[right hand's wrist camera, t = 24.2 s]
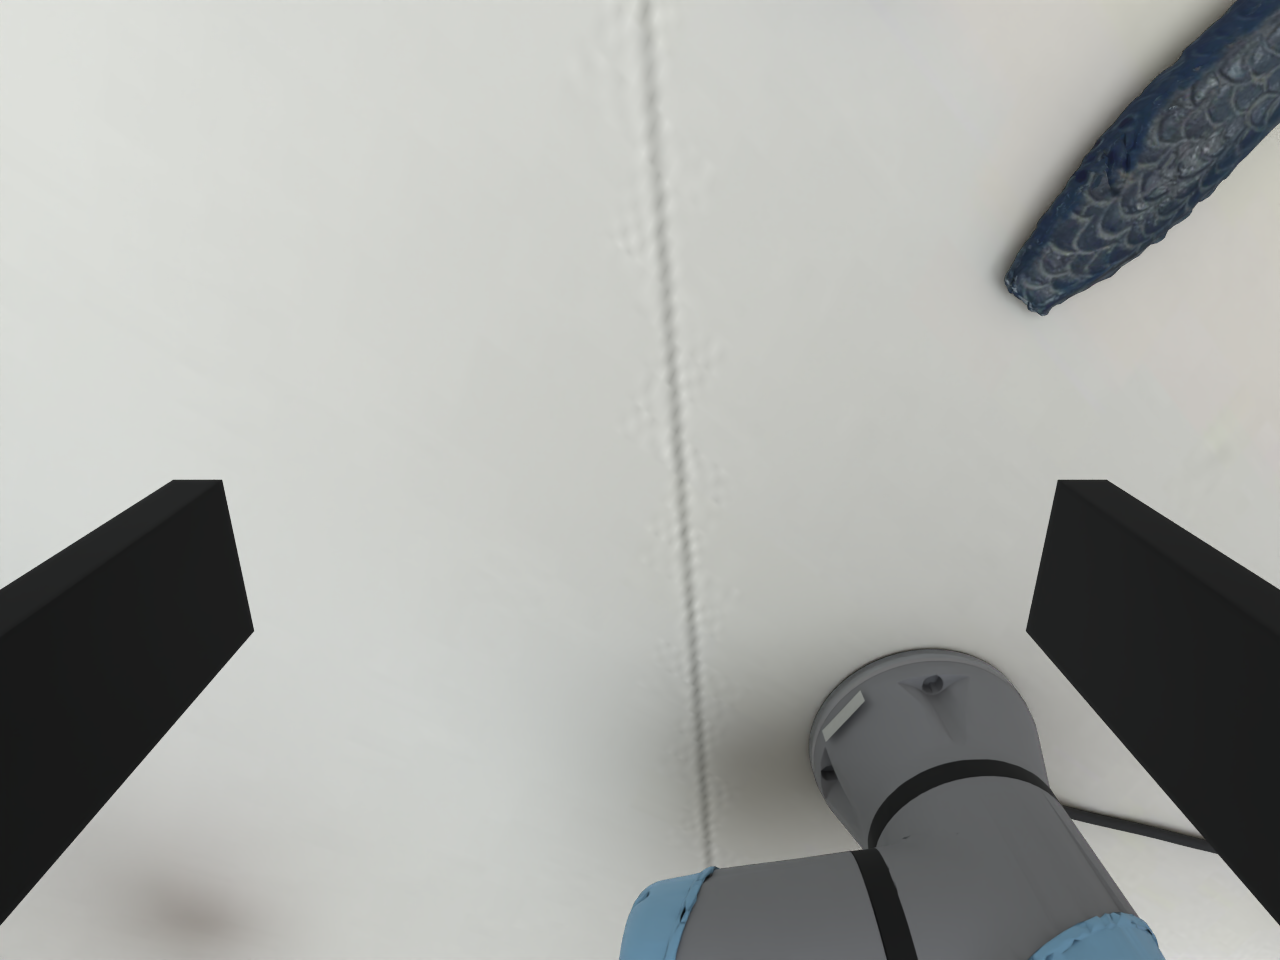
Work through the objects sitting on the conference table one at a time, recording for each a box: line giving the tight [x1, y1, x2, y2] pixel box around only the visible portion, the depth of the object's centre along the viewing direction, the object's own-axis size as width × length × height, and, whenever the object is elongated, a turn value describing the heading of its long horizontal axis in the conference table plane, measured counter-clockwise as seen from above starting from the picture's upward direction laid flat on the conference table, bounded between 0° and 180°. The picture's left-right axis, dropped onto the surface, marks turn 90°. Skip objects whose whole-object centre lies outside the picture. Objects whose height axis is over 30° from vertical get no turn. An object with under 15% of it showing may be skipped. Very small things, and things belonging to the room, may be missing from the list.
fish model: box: [1004, 0, 1280, 316], centre depth 38 cm, size 7×21×5 cm, turn 143°
